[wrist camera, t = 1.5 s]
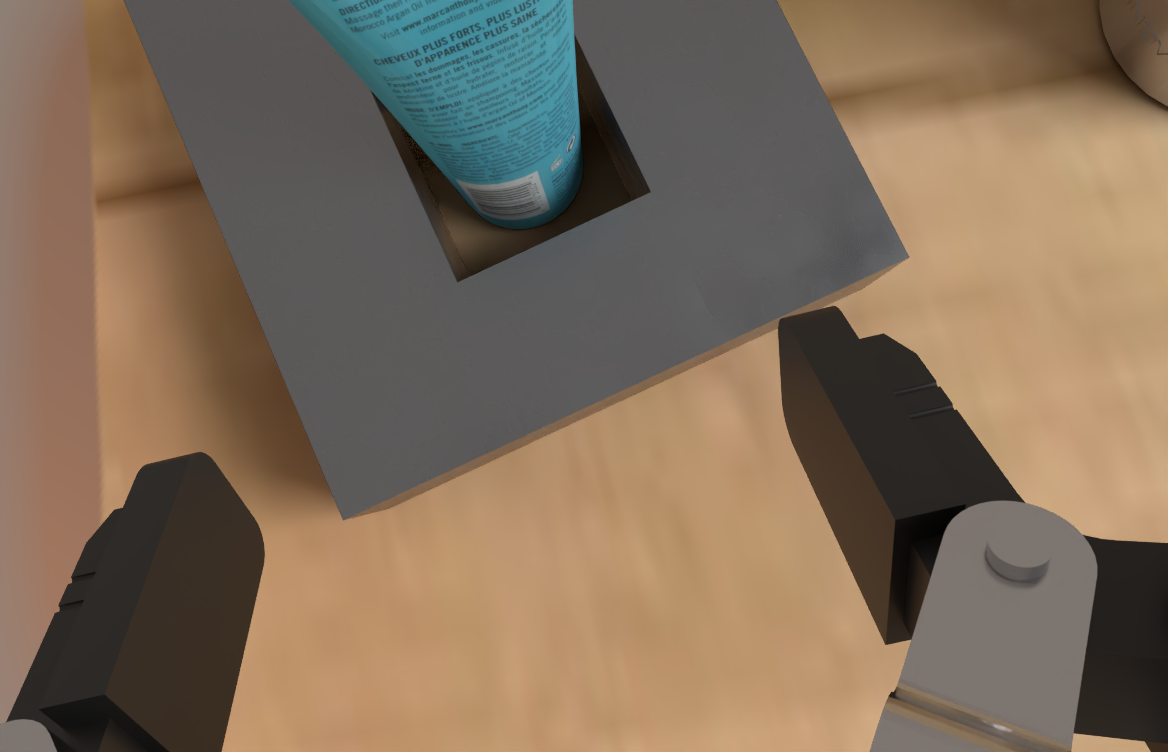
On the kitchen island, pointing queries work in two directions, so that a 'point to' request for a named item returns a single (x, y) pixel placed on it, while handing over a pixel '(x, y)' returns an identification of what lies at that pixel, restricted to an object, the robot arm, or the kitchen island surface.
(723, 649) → the kitchen island surface
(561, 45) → the tube
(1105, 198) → the kitchen island surface
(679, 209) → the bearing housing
